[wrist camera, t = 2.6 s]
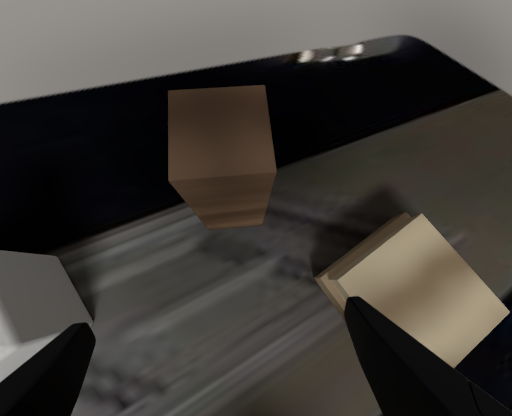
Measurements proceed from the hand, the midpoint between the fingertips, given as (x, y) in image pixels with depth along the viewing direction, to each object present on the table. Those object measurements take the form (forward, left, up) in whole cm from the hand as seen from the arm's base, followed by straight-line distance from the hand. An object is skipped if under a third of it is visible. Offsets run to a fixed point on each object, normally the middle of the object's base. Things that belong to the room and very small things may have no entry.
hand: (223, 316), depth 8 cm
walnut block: (+7, -4, -13) cm, 16 cm away
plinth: (-8, -11, -13) cm, 19 cm away
